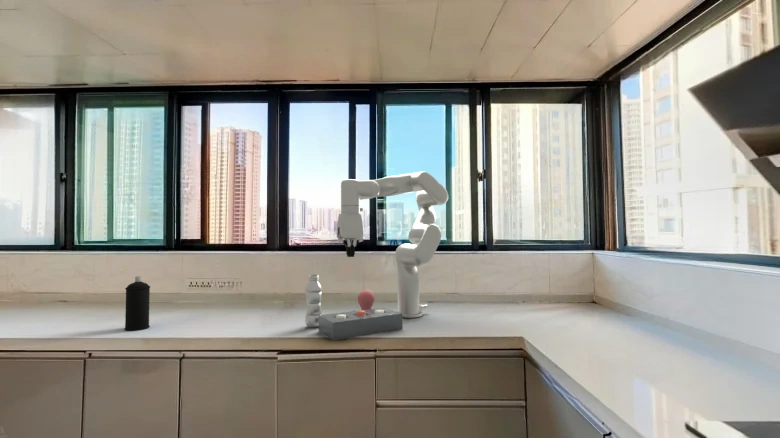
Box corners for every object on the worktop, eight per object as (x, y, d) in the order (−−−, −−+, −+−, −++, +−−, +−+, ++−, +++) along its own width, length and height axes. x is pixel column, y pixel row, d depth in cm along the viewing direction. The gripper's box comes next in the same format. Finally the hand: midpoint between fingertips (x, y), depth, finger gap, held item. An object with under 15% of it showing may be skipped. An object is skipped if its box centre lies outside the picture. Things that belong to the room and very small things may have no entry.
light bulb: (354, 319, 162) (354, 291, 162) (362, 316, 169) (362, 288, 169) (370, 321, 159) (370, 291, 160) (377, 317, 166) (377, 289, 166)
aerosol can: (154, 327, 151) (155, 275, 151) (132, 332, 143) (134, 278, 144) (141, 325, 154) (142, 275, 155) (119, 329, 147) (120, 277, 147)
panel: (383, 322, 157) (383, 307, 157) (402, 329, 145) (402, 313, 145) (318, 331, 142) (318, 315, 143) (333, 340, 130) (333, 322, 131)
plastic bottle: (318, 329, 146) (318, 276, 147) (302, 328, 147) (302, 276, 148) (324, 325, 152) (325, 274, 153) (308, 324, 154) (309, 274, 154)
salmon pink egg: (363, 325, 146) (362, 309, 146) (367, 327, 143) (367, 311, 143) (354, 327, 144) (354, 310, 145) (358, 329, 141) (358, 312, 141)
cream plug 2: (381, 324, 150) (381, 309, 150) (385, 326, 147) (385, 311, 147) (373, 326, 148) (373, 310, 149) (377, 328, 145) (377, 312, 146)
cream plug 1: (343, 330, 142) (343, 314, 142) (347, 332, 139) (347, 315, 139) (334, 331, 140) (334, 315, 140) (338, 333, 137) (338, 316, 137)
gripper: (363, 211, 160) (363, 255, 159) (329, 210, 152) (329, 257, 152) (371, 210, 154) (371, 256, 153) (336, 209, 146) (336, 258, 145)
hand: (350, 256), depth 152 cm, fingers closed
